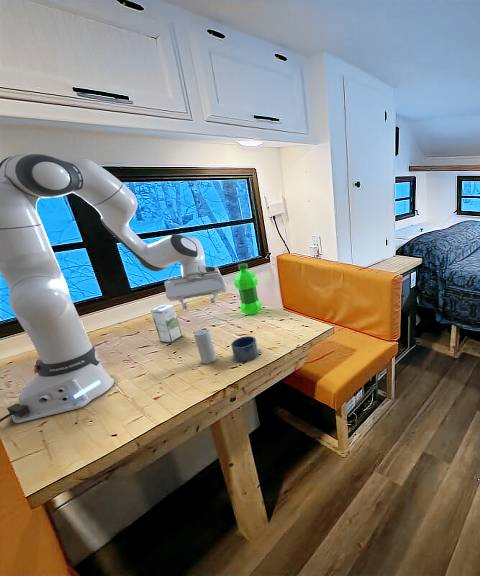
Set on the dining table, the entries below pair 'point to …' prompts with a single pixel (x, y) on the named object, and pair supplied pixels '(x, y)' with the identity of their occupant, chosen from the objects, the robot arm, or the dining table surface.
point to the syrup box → (166, 323)
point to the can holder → (244, 349)
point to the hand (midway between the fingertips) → (199, 305)
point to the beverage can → (205, 346)
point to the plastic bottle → (247, 290)
